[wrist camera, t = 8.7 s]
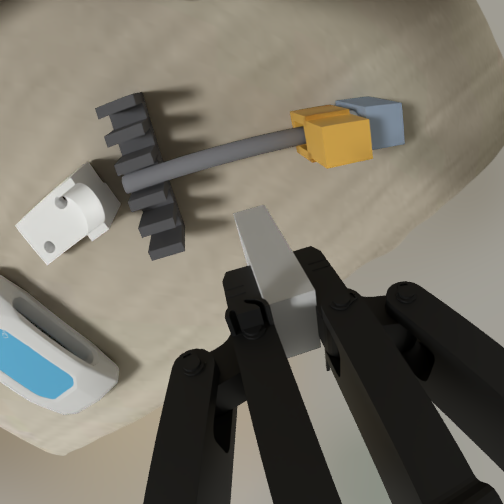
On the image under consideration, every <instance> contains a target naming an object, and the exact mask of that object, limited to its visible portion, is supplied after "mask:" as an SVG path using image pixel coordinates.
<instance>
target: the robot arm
mask: <svg viewBox="0 0 504 504" xmlns="http://www.w3.org/2000/svg"><path fill="white" fill-rule="evenodd" d="M233 215H234V218H235V222H236V226H237V229H238V233H239V237H240V240H241V244H242V248H243V251H244V255H245V259H246V262H247V265H248V266H246V267H242V268H239V269H235V270H232V271H229V272H226V273H225V276H224V279H223V281H222V282H223V287H224V291H225V296H226V301H227V306H228V309H227V310H226V312H225V319H226V322H227V324H228V327H229V330H230V332H231V335H230V336H229V338H228V340H227V341H226V342H225V343H224V344H222V345H221V346H219V347H218V348H216V349H215V350H213V351H211V352H208V351H206V350H204V349H192V350H188V351H186V352H185V353H183V354H181V355H180V356H179V357H178V358H177V359H176V360H175V362H174V365H173V367H172V371H171V375H170V379H169V383H168V387H167V392H166V396H165V400H164V405H163V409H162V414H161V418H160V423H159V427H158V432H157V436H156V441H155V446H154V451H153V456H152V461H151V465H150V471H149V477H148V481H147V486H146V492H145V497H144V503H143V504H230V500H231V486H232V473H233V459H234V444H235V432H236V418H237V406H238V405H240V404H242V403H243V402H245V401H247V403H248V407H249V411H250V415H251V419H252V423H253V427H254V432H255V435H256V439H257V443H258V447H259V451H260V455H261V459H262V462H263V467H264V470H265V474H266V478H267V482H268V485H269V489H270V493H271V496H272V500H273V504H342V503H341V500H340V497H339V495H338V492H337V490H336V487H335V484H334V482H333V479H332V476H331V474H330V471H329V469H328V466H327V463H326V461H325V458H324V455H323V453H322V450H321V447H320V445H319V442H318V439H317V437H316V434H315V431H314V429H313V426H312V423H311V421H310V418H309V415H308V413H307V410H306V407H305V405H304V402H303V400H302V397H301V394H300V391H299V389H298V386H297V383H296V381H295V378H294V376H293V373H292V370H291V367H290V365H289V362H288V360H287V358H290V357H293V356H296V355H299V354H302V353H305V352H308V351H311V350H314V349H317V348H320V347H321V343H320V339H321V341H322V343H323V345H324V347H325V358H326V368H327V371H329V370H330V368H331V370H332V372H333V374H334V377H335V378H336V380H337V383H338V385H339V387H340V389H341V391H342V394H343V396H344V398H345V400H346V402H347V404H348V406H349V409H350V411H351V413H352V415H353V417H354V419H355V422H356V424H357V426H358V428H359V430H360V433H361V435H362V437H363V439H364V442H365V444H366V446H367V448H368V450H369V453H370V455H371V457H372V459H373V462H374V464H375V466H376V468H377V470H378V473H379V475H380V477H381V479H382V482H383V484H384V486H385V488H386V491H387V493H388V495H389V498H390V500H391V502H392V504H503V503H502V501H501V499H500V497H499V495H498V494H497V492H496V491H495V489H494V488H493V487H491V486H490V485H489V484H487V483H484V482H481V481H479V480H478V479H477V478H476V477H475V475H474V474H473V472H472V470H471V468H470V466H469V465H468V463H467V461H466V459H465V457H464V456H463V454H462V452H461V450H460V448H459V447H458V445H457V443H456V441H455V440H454V438H453V436H452V435H451V433H450V431H449V429H448V428H447V426H446V424H445V423H444V421H443V419H442V418H441V416H440V414H439V413H438V411H437V410H436V408H435V406H434V405H433V403H434V404H435V405H436V406H437V407H438V408H439V409H440V410H441V411H442V412H443V413H445V415H447V416H448V417H449V418H450V419H451V420H452V421H453V422H454V423H455V424H456V425H457V426H458V427H459V428H460V429H461V430H462V431H463V432H464V433H465V434H466V435H467V436H468V437H469V438H470V439H471V440H472V441H474V443H475V444H476V445H477V446H479V448H481V450H483V452H485V453H486V454H487V455H488V456H489V457H490V458H491V459H492V460H493V461H494V462H495V463H496V464H497V465H498V466H499V467H500V468H501V469H502V470H503V471H504V348H503V347H502V346H501V345H500V344H498V343H497V342H496V341H494V340H493V339H492V338H490V337H489V336H488V335H487V334H485V333H484V332H483V331H481V330H480V329H479V328H477V327H476V326H475V325H473V324H472V323H471V322H469V321H468V320H467V319H465V318H464V317H463V316H461V315H460V314H459V313H457V312H456V311H454V310H453V309H452V308H450V307H449V306H448V305H446V304H445V303H443V302H442V301H440V300H439V299H438V298H436V297H435V296H434V295H432V294H431V293H429V292H428V291H426V290H425V289H424V288H422V287H421V286H419V285H417V284H415V283H412V282H407V281H405V282H398V283H395V284H393V285H392V286H391V287H389V289H388V290H387V294H386V296H376V297H363V296H361V295H360V294H358V293H357V292H356V291H354V290H352V289H348V288H347V287H346V286H345V284H344V283H343V282H342V280H341V279H340V277H339V276H338V274H337V273H336V272H335V270H334V269H333V267H332V266H331V265H330V263H329V262H328V260H326V258H325V256H324V255H323V254H322V252H321V251H320V250H318V249H316V248H314V247H312V246H310V247H306V248H303V249H300V250H296V251H292V250H291V248H290V246H289V245H288V243H287V241H286V240H285V238H284V236H283V235H282V233H281V231H280V230H279V228H278V226H277V225H276V223H275V221H274V220H273V218H272V216H271V215H270V213H269V212H268V210H267V208H266V207H265V205H261V206H258V207H254V208H250V209H247V210H243V211H240V212H236V213H233ZM432 402H433V403H432Z"/></svg>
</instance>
